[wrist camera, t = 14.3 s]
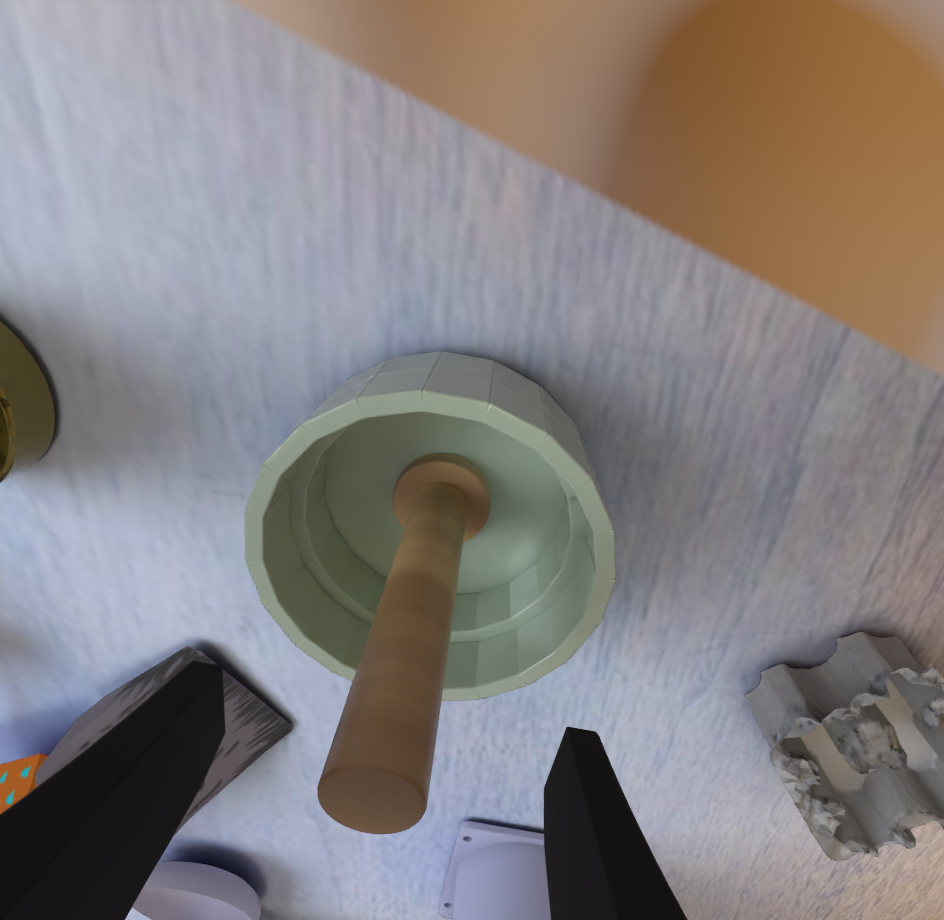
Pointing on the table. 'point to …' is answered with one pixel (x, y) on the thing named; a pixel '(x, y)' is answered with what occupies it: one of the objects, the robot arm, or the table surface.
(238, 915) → the shallow white dish
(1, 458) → the brass candlestick
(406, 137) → the table surface
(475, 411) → the bowl
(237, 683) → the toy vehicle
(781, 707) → the egg carton
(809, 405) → the table surface
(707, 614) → the table surface
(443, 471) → the wooden pestle
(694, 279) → the table surface
